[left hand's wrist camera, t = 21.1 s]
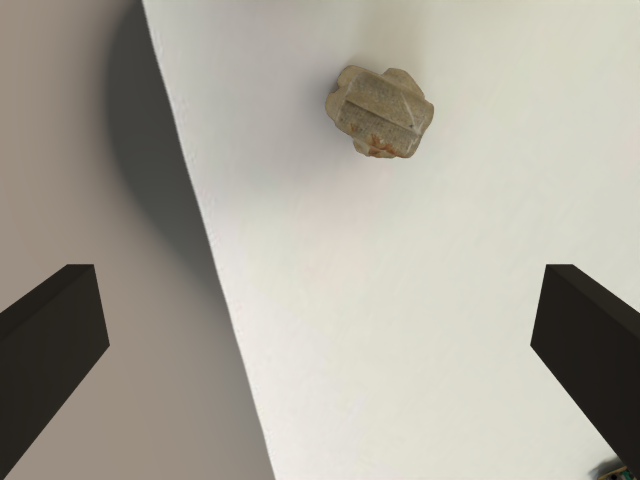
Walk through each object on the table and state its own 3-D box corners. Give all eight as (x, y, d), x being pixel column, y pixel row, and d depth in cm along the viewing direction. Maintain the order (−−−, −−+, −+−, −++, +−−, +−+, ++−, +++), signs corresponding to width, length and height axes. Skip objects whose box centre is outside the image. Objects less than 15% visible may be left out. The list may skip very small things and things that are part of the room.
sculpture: (351, 52, 35) (371, 33, 21) (423, 97, 37) (488, 108, 23) (316, 116, 37) (314, 137, 23) (386, 157, 38) (425, 201, 24)
